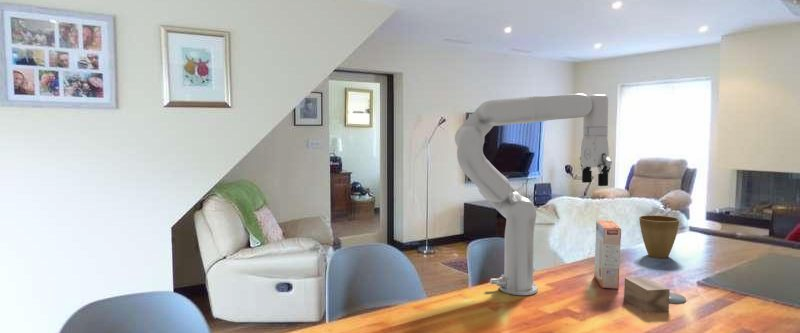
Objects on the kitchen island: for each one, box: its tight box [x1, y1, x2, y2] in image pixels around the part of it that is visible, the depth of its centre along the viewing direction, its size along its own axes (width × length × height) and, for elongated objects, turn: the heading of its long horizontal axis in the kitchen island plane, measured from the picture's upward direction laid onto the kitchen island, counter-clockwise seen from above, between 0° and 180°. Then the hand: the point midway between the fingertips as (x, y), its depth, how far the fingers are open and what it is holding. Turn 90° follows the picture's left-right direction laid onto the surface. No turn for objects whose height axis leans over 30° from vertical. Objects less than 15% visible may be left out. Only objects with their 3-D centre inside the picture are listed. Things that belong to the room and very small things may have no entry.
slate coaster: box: [669, 292, 687, 304], centre depth 162 cm, size 9×9×1 cm
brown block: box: [623, 276, 670, 314], centre depth 156 cm, size 7×12×7 cm, turn 7°
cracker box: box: [593, 219, 622, 290], centre depth 177 cm, size 14×6×21 cm, turn 168°
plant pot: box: [638, 214, 680, 259], centre depth 212 cm, size 15×15×16 cm
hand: (594, 184), depth 169 cm, fingers open, 9 cm apart
